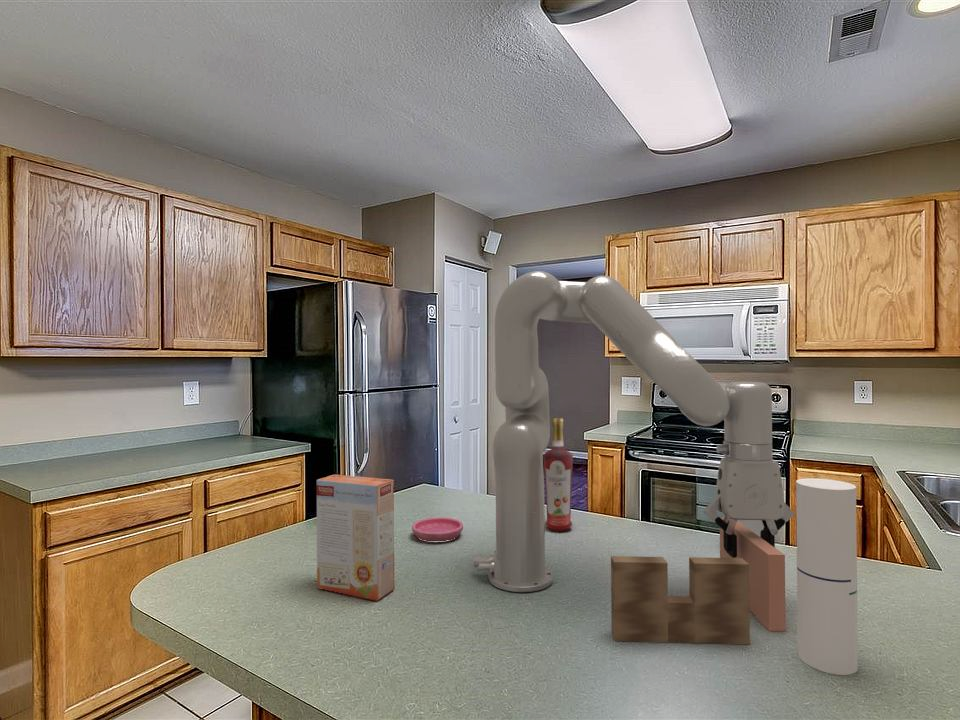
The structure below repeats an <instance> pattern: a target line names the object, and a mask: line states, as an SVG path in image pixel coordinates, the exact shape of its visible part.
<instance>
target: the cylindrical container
mask: <svg viewBox="0 0 960 720" xmlns="http://www.w3.org/2000/svg"><path fill="white" fill-rule="evenodd" d="M795 501H796V503H795V504H796V505H795V506H796V507H795V509H796V513H795V515H796V521H795V522H796V590H797V592H796V597H797V598H796V599H797V600H796V602H797V603H796V605H797V607H796V608H797V622H796V623H797V656H798V658H799V660H801V661H802V662H803V663H804V664H805V665H807V666H809V667H810V668H813V669H815V670H817V671H821V672H823V673H825V674H830V675H836V676H837V675H838V676H849V675H854V674H856V673H857V672H858V670H859V659H858V658H859V657H858V656H859V651H858V647H859V645H858V644H859V643H858V642H859V641H858V639H859V638H858V556H857V555H858V554H857V552H858V547H857V545H858V544H857V543H858V541H857V540H858V539H857V535H858V534H857V533H858V532H857V486H856V485H855V484H853V483H850V482H847V481H843V480H836V479H830V478H829V479H827V478H814V477H813V478H812V477H809V478H807V477H805V478H800V479H799V478H798V479H796V480H795Z"/></svg>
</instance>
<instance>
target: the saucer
mask: <svg viewBox="0 0 960 720" xmlns="http://www.w3.org/2000/svg"><path fill="white" fill-rule="evenodd" d="M463 529H464V523H463V522H461V521H460V520H459V519H457V518H452V517H442V516H441V517H437V516H436V517H428V518H423V519H419V520H418V521H417V520H416V522H414V523H412V526H411V530H412V532H413V534H414V535H415V536H416V537H417V538H418V539H419V538H420V539H422V540H426V541H446V540H451V539H454V538H456V537H457V538H458V536H459V535H461V532H462V531H463ZM457 538H456V539H457ZM420 539H419V540H420ZM454 540H455V539H454Z"/></svg>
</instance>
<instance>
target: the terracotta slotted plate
mask: <svg viewBox="0 0 960 720" xmlns="http://www.w3.org/2000/svg"><path fill="white" fill-rule="evenodd" d="M720 518H721V519H723V517H720ZM734 534H735V535H736V536H737V557H736V558H742V559H744V560H745V561H746V562H747V563H748V564H749V599H750V612H751V614H753V616H754V615H755V616H754V617H755V618H756V619H757V620H758V621H759V622H760V623H761V624H762V625H763V627H765V628H766V629H767V631H768V632H786V631H787V630H786V627H787V626H786V625H787V623H786V554H784V553H783V552H782V551H780V550H779V549H778V548H777V547H776V546H775V547H773V546H772V545H770V544H769V543H768V542H766V541H765V540H763V539H762V538H761V537H759V536H758V535H756V534H755V533H754V532H752V531H751V530H749V529H748V528H747V527H745V526H744V525H742V524H741V523H740V522H738V521H737V523H736V526H735V529H734ZM719 558H732V557H731V556H730V555H729V554H728V553H727V552H726V551H725V549H724V538H723V530H722V529H721V528H720V527H719Z"/></svg>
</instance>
